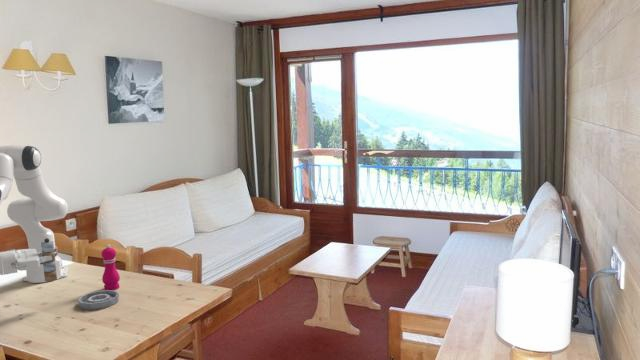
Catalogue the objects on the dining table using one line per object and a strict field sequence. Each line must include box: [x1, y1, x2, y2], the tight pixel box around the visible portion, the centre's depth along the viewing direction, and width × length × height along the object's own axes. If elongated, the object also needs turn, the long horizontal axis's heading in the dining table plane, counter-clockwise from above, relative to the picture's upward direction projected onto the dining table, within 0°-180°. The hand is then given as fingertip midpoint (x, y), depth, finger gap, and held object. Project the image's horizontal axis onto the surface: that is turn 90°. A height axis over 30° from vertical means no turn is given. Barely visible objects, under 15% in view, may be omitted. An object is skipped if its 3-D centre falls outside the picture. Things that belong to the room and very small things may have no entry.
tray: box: [77, 289, 120, 311], centre depth 209 cm, size 15×15×3 cm
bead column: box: [41, 238, 58, 282], centre depth 205 cm, size 4×4×17 cm
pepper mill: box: [101, 244, 121, 291], centre depth 225 cm, size 7×7×20 cm
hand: (51, 255), depth 206 cm, fingers closed on bead column, 4 cm apart
